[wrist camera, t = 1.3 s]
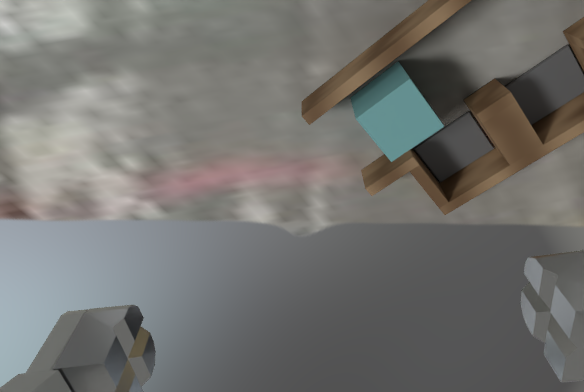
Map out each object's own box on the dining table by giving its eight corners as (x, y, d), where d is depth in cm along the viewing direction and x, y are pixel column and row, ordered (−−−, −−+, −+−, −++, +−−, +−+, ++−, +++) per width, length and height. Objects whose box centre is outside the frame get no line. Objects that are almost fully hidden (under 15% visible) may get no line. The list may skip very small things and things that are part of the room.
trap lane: (670, -193, 29) (711, -206, 26) (736, 9, 36) (775, 17, 33) (301, 101, 40) (301, 116, 37) (401, 216, 47) (408, 237, 44)
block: (398, 60, 38) (409, 78, 34) (429, 104, 40) (444, 126, 36) (350, 97, 40) (355, 118, 36) (382, 137, 42) (391, 162, 38)
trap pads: (566, 44, 37) (568, 45, 37) (588, 86, 39) (590, 87, 39) (414, 147, 43) (414, 149, 42) (439, 180, 44) (440, 182, 44)
